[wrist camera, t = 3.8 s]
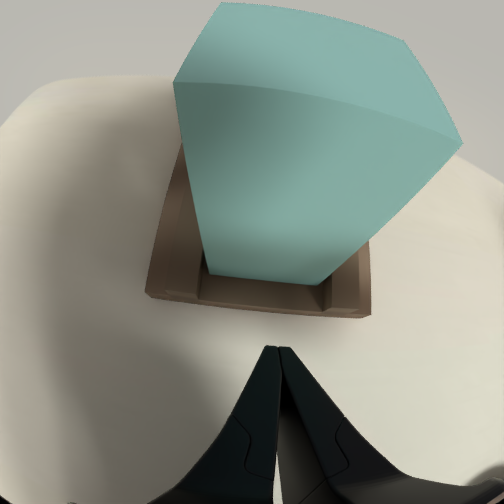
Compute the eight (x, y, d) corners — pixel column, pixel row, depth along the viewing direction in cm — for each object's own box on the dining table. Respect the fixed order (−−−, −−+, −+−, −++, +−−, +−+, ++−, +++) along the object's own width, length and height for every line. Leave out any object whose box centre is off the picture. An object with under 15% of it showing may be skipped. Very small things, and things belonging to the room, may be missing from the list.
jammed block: (317, 285, 16) (463, 143, 4) (209, 274, 15) (173, 82, 4) (317, 207, 17) (403, 40, 6) (221, 195, 17) (221, 2, 6)
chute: (360, 318, 17) (403, 302, 12) (151, 297, 16) (123, 274, 12) (347, 138, 22) (367, 97, 17) (196, 118, 22) (191, 71, 17)
